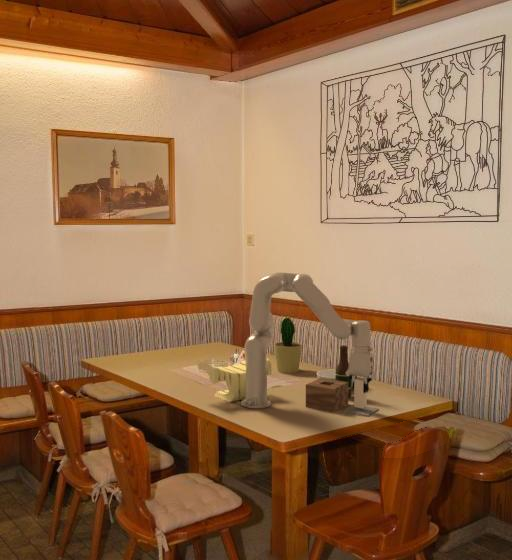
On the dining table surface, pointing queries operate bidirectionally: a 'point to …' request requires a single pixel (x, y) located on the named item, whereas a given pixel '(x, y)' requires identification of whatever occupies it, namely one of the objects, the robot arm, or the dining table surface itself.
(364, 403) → the square peg
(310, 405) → the wooden square ring
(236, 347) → the dining table surface
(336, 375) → the beer bottle
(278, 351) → the potted cactus
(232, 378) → the slatted curved stool
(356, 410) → the rubber mat
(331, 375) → the serving bowl
